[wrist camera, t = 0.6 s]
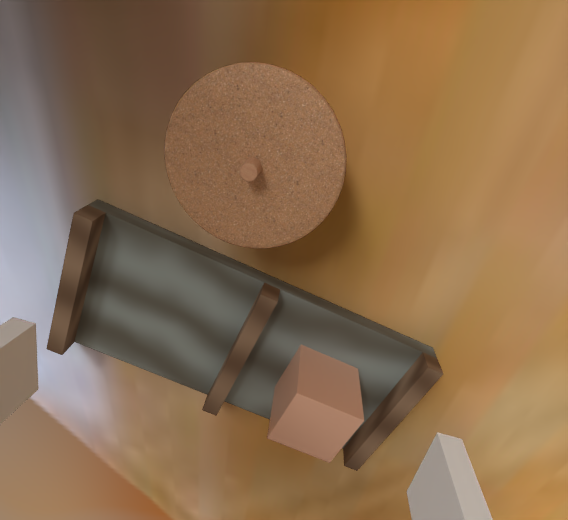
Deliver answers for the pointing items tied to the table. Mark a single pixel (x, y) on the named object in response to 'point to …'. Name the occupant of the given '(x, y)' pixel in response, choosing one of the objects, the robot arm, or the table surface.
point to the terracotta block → (316, 404)
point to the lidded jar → (255, 155)
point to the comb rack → (222, 323)
